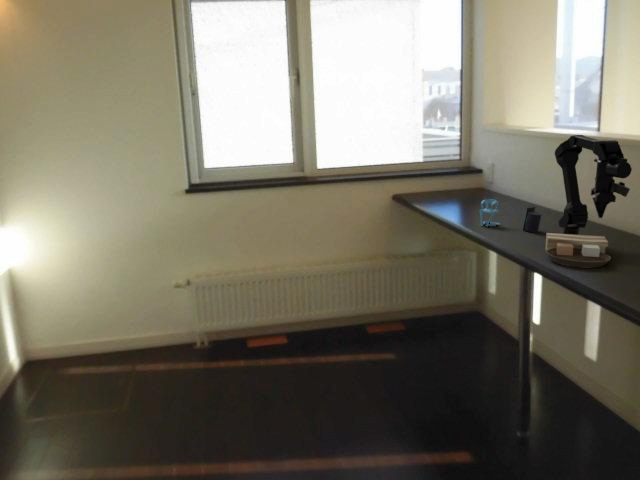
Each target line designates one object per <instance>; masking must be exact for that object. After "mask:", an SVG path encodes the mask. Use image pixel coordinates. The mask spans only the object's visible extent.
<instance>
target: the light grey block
mask: <svg viewBox="0 0 640 480" xmlns="http://www.w3.org/2000/svg"><path fill="white" fill-rule="evenodd" d="M599 253H600V248H599V246H598V245H583V244H582V255H583V256H590V257H599Z"/></svg>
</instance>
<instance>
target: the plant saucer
mask: <svg viewBox="0 0 640 480" xmlns="http://www.w3.org/2000/svg"><path fill="white" fill-rule="evenodd" d="M556 249H557V248H553V249H549V250H547V252H546V254H547V256H548V257H549V259H550V260H551V261H552V262H553V263H555V262H556V264H559V265H562V266H565V265H566V266H565V267H571V266H572V267H573V268H580V269H581V268H584V269H590V268H591V269H592V268H593V269H594V268H600V267H603V266H605V265H606V264H608V262H609V261H610V260H611V259H612V258H611V256H610V255H608V254H606V253H605V254H604V253H601V252H600V253H599V257H590V256H583V255H582V249H579V248H573V256H571V255H557V252H556Z"/></svg>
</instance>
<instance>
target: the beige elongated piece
mask: <svg viewBox="0 0 640 480" xmlns="http://www.w3.org/2000/svg"><path fill="white" fill-rule="evenodd" d="M545 238H546V239H545V252H546V253H547V250H549V249H553V248H557V243H563V244H572V245H573V248H579V249H582V244H583V245H598V246H599V248H600V252H601V253H604V254H606V247H607V248H608V247H609V241H608V240H607V238H606V237H605V236H604V235H590V234H588V235H587V234H579V235H573V234H564V233H551V232H546V236H545Z"/></svg>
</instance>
